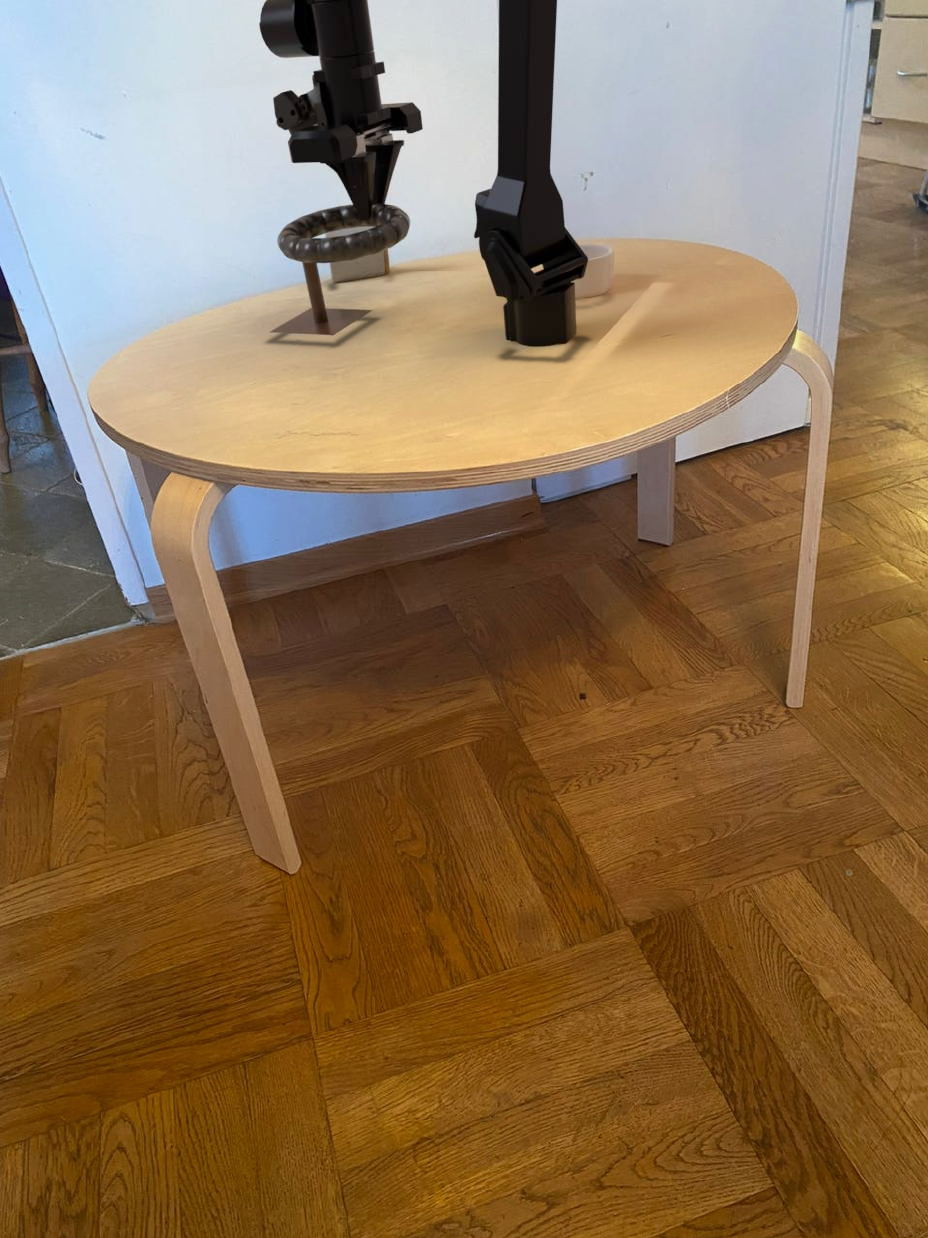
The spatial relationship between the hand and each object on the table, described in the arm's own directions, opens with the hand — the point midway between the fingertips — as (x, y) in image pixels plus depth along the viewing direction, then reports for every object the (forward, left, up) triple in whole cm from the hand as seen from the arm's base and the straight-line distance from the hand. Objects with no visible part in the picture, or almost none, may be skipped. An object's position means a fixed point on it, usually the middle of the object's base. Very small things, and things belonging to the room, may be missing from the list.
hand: (371, 217), depth 99 cm
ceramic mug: (+13, -15, -12) cm, 23 cm away
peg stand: (+6, +5, -11) cm, 14 cm away
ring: (0, +6, 0) cm, 6 cm away
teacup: (-21, -10, -12) cm, 26 cm away
